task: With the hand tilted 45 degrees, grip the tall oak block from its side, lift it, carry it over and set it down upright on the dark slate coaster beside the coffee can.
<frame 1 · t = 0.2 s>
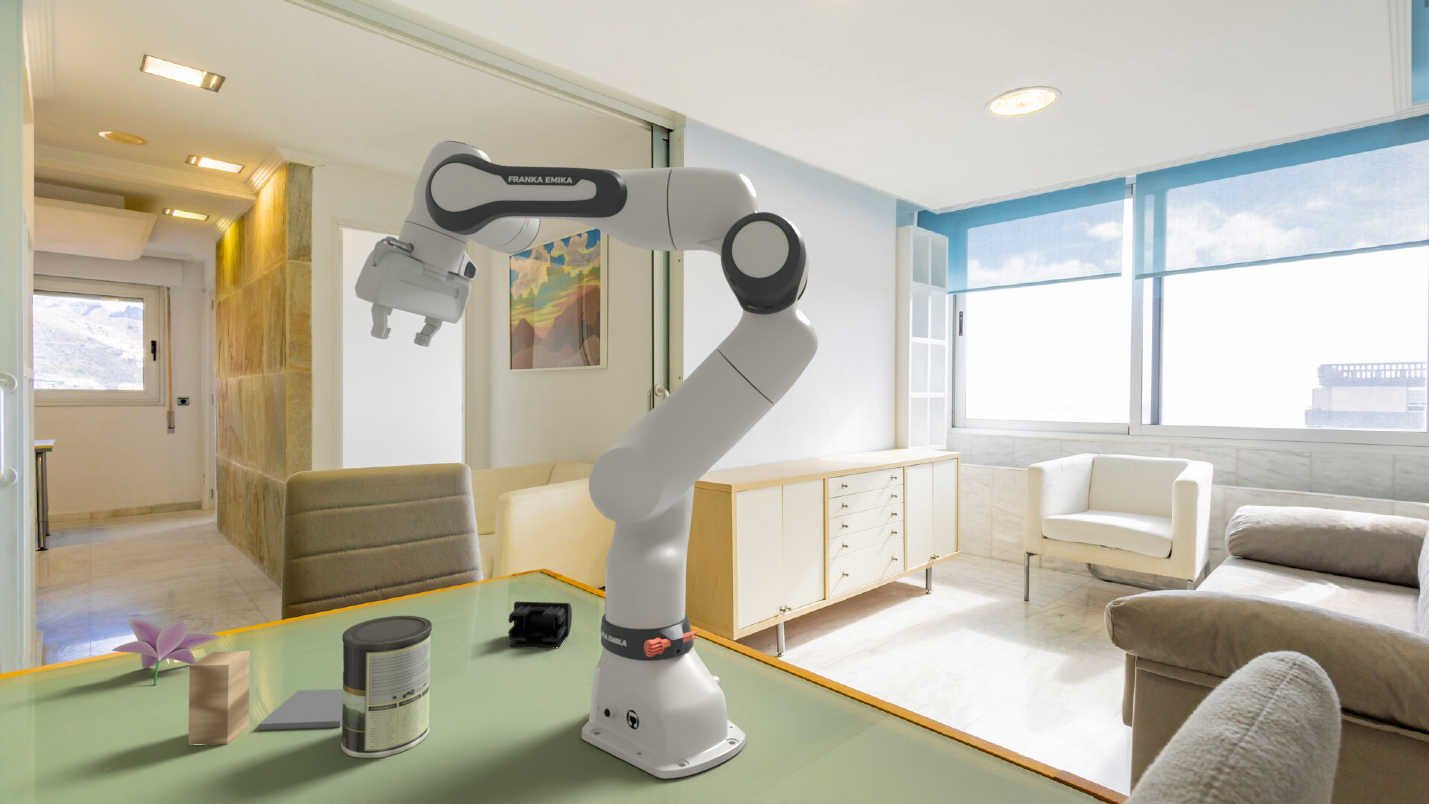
hand: (400, 341, 97), 52 cm above the table, tool tilted 20°, fingers open, 8 cm apart
lily: (164, 676, 102), on the table
oak block: (219, 736, 84), on the table
coffee can: (386, 739, 85), on the table
slate coaster: (318, 710, 91), on the table
end cap: (539, 642, 119), on the table
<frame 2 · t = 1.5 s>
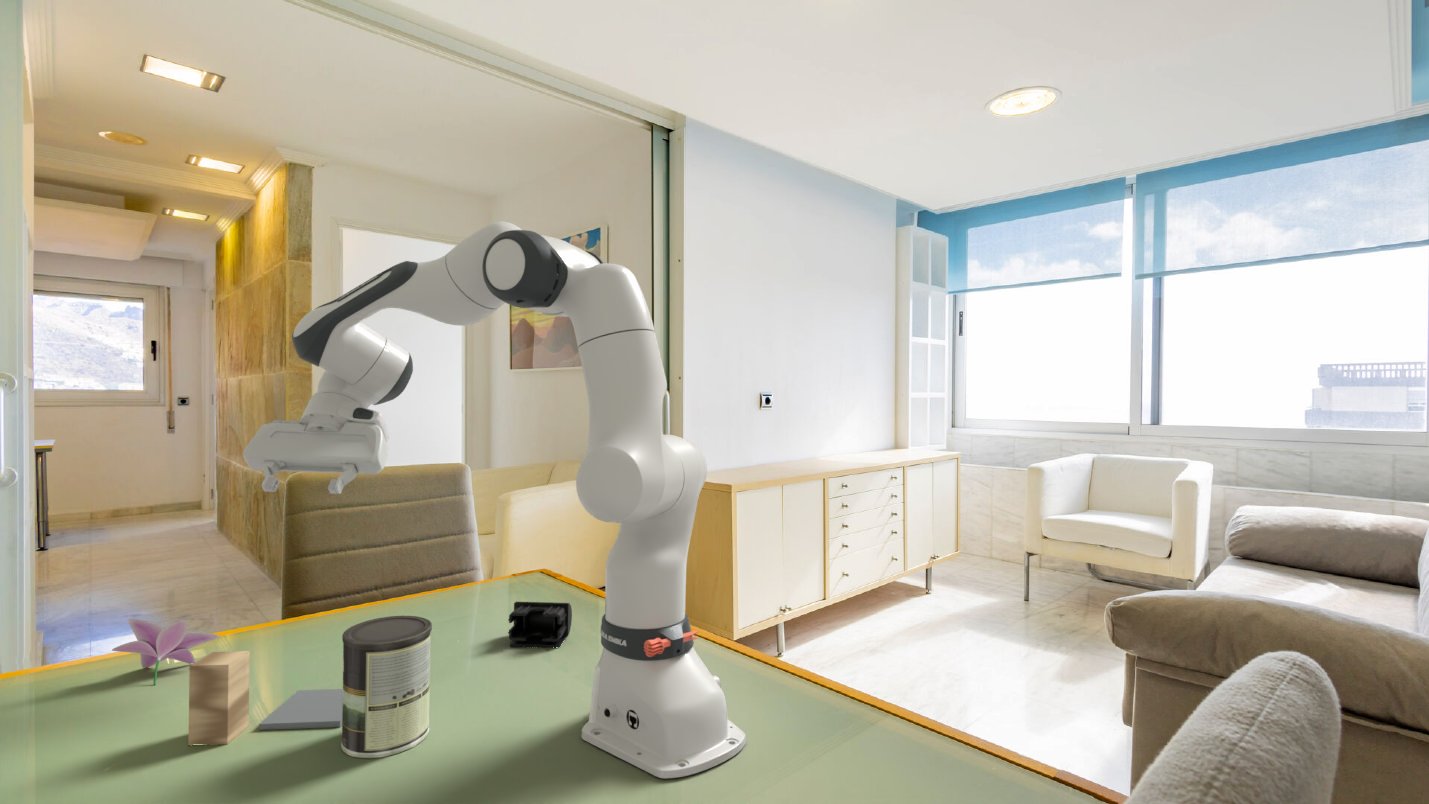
hand: (301, 490, 101), 29 cm above the table, tool tilted 45°, fingers open, 8 cm apart
nothing on the table moved.
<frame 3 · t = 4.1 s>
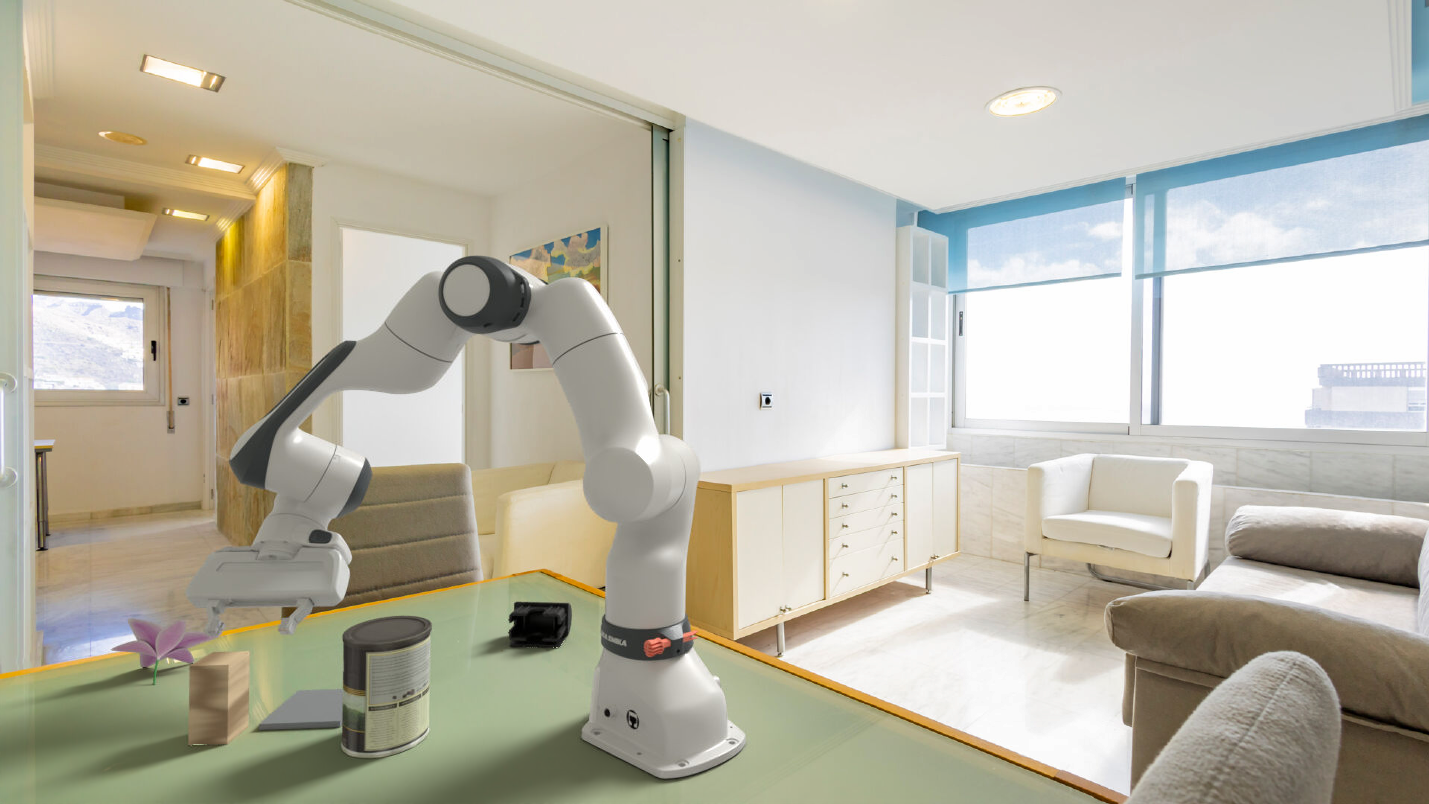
hand: (248, 633, 90), 11 cm above the table, tool tilted 45°, fingers open, 8 cm apart
nothing on the table moved.
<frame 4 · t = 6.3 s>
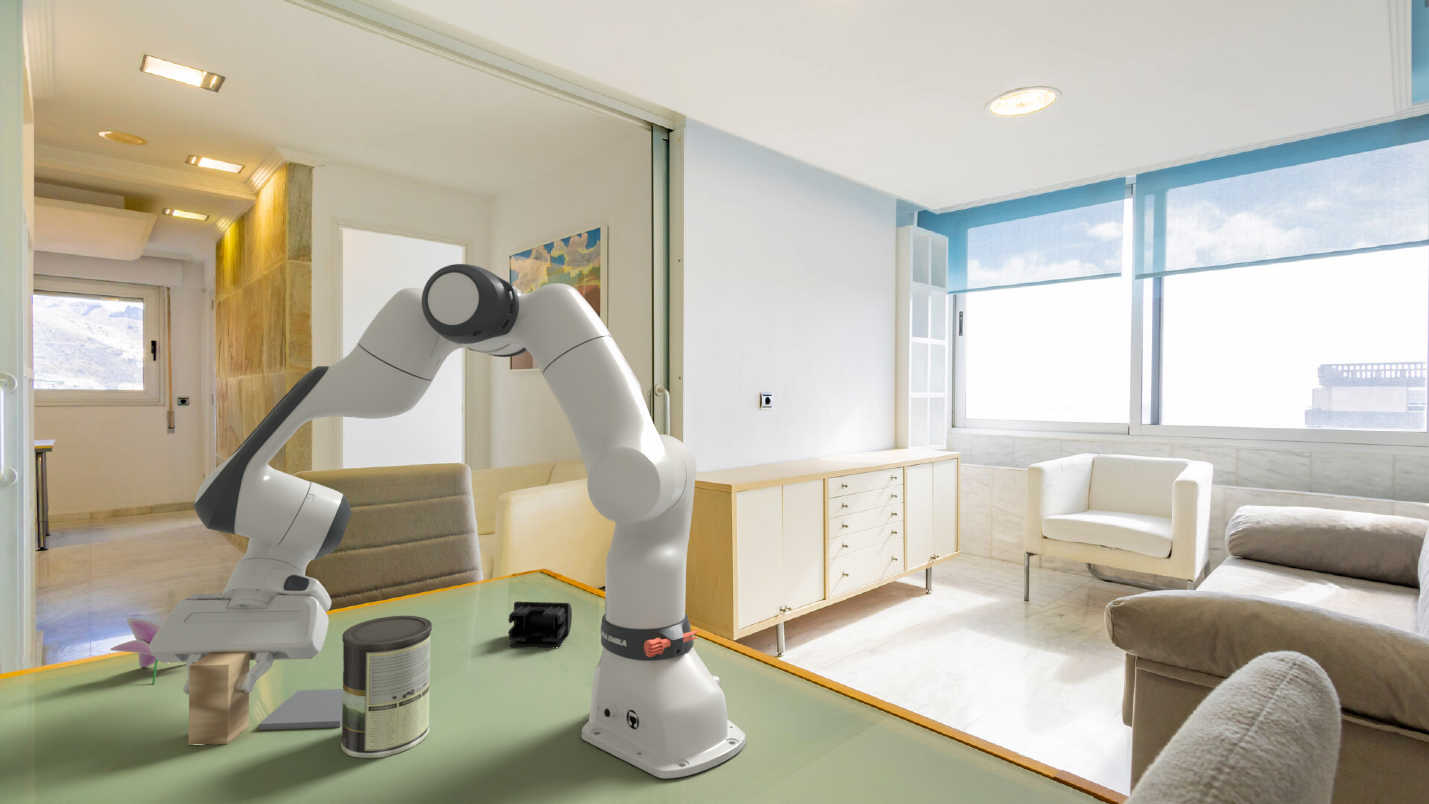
hand: (217, 692, 84), 6 cm above the table, tool tilted 45°, fingers closed on oak block, 4 cm apart
oak block: (219, 736, 84), on the table, touching gripper
everything else where it was.
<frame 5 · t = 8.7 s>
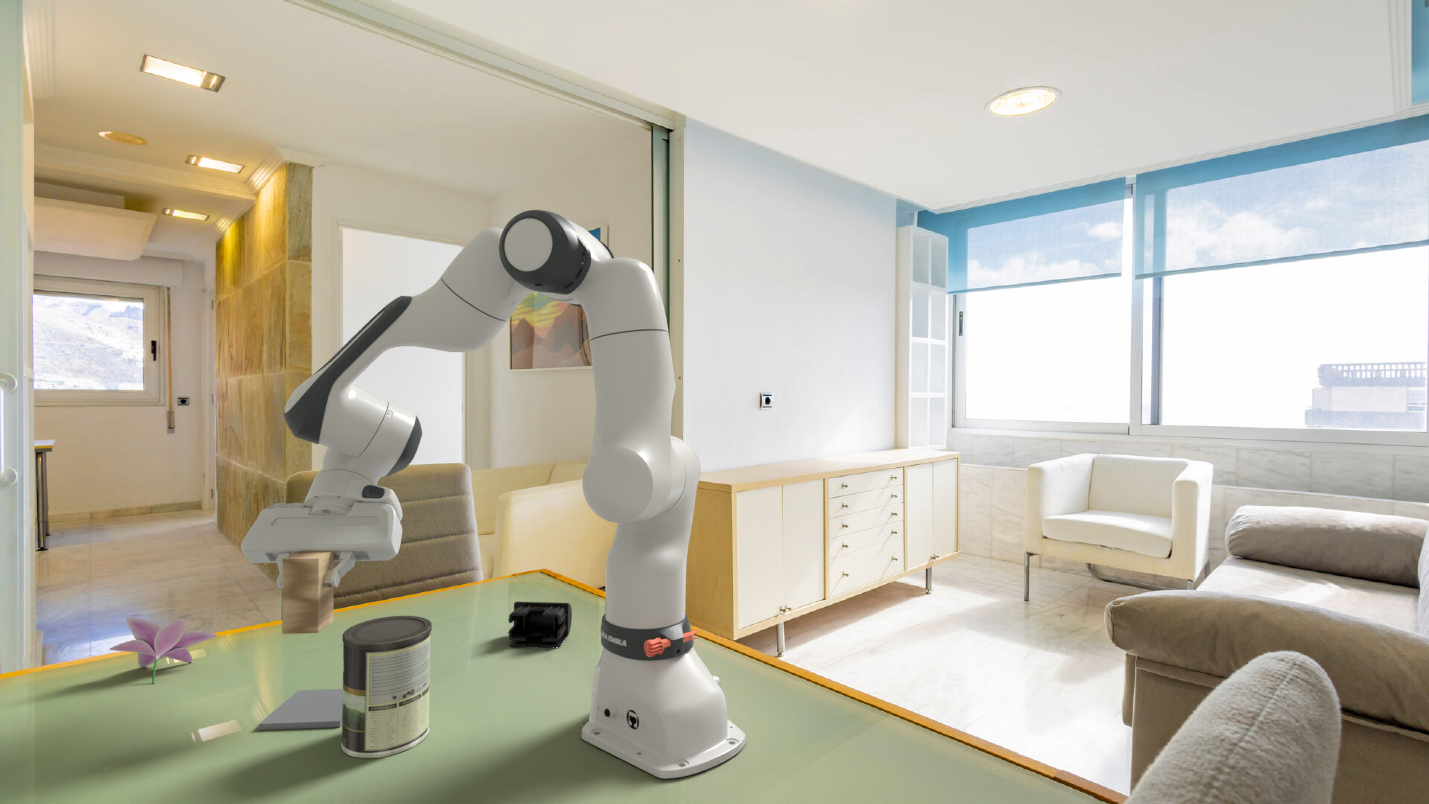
hand: (306, 586, 89), 18 cm above the table, tool tilted 45°, fingers closed on oak block, 4 cm apart
oak block: (308, 627, 90), point 12 cm above the table, touching gripper
everything else where it was.
when the fingers open (8 cm above the table, at t = 11.3 s): oak block drops 1 cm, resting on slate coaster.
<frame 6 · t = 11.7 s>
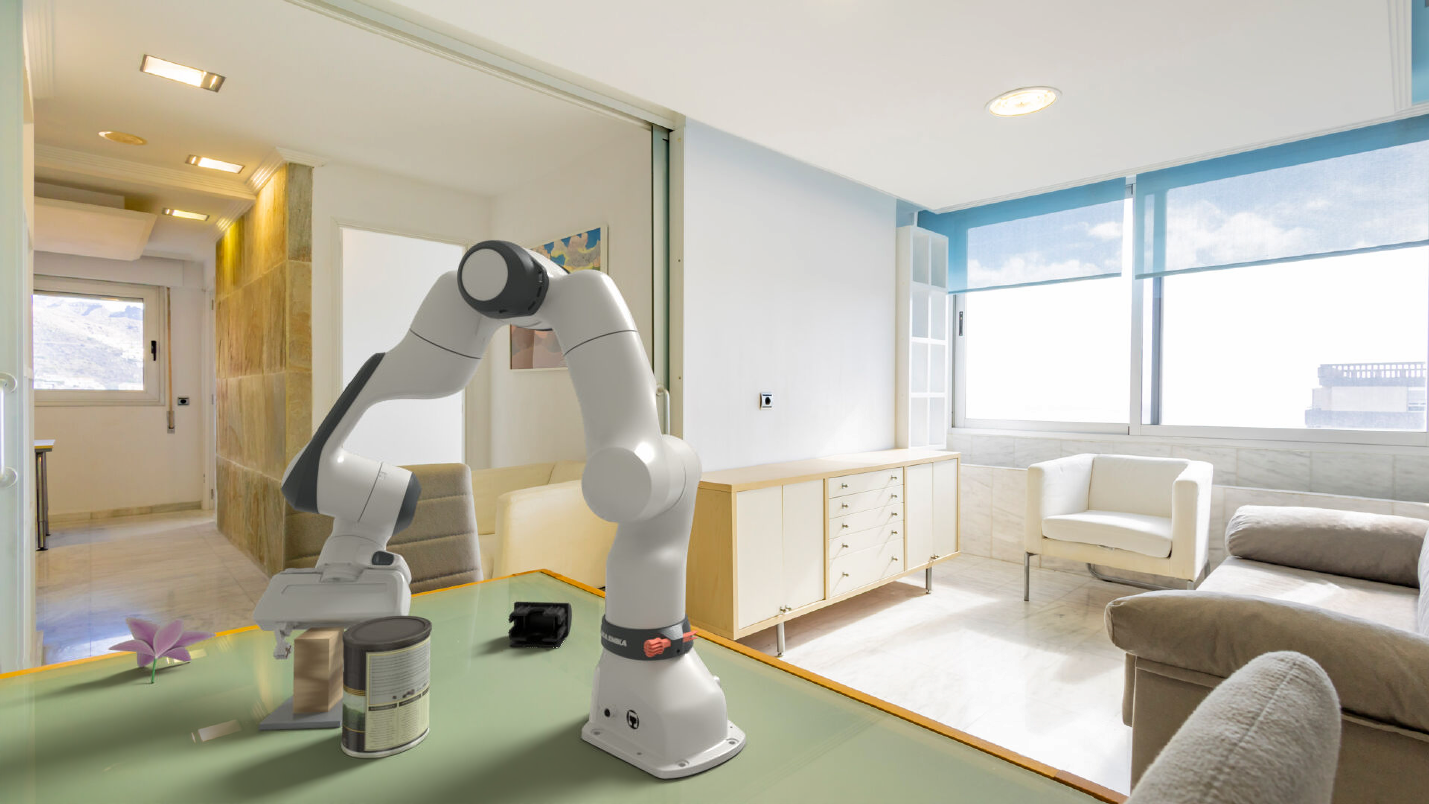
hand: (317, 656, 91), 8 cm above the table, tool tilted 45°, fingers open, 8 cm apart
oak block: (318, 704, 91), point 1 cm above the table, touching slate coaster
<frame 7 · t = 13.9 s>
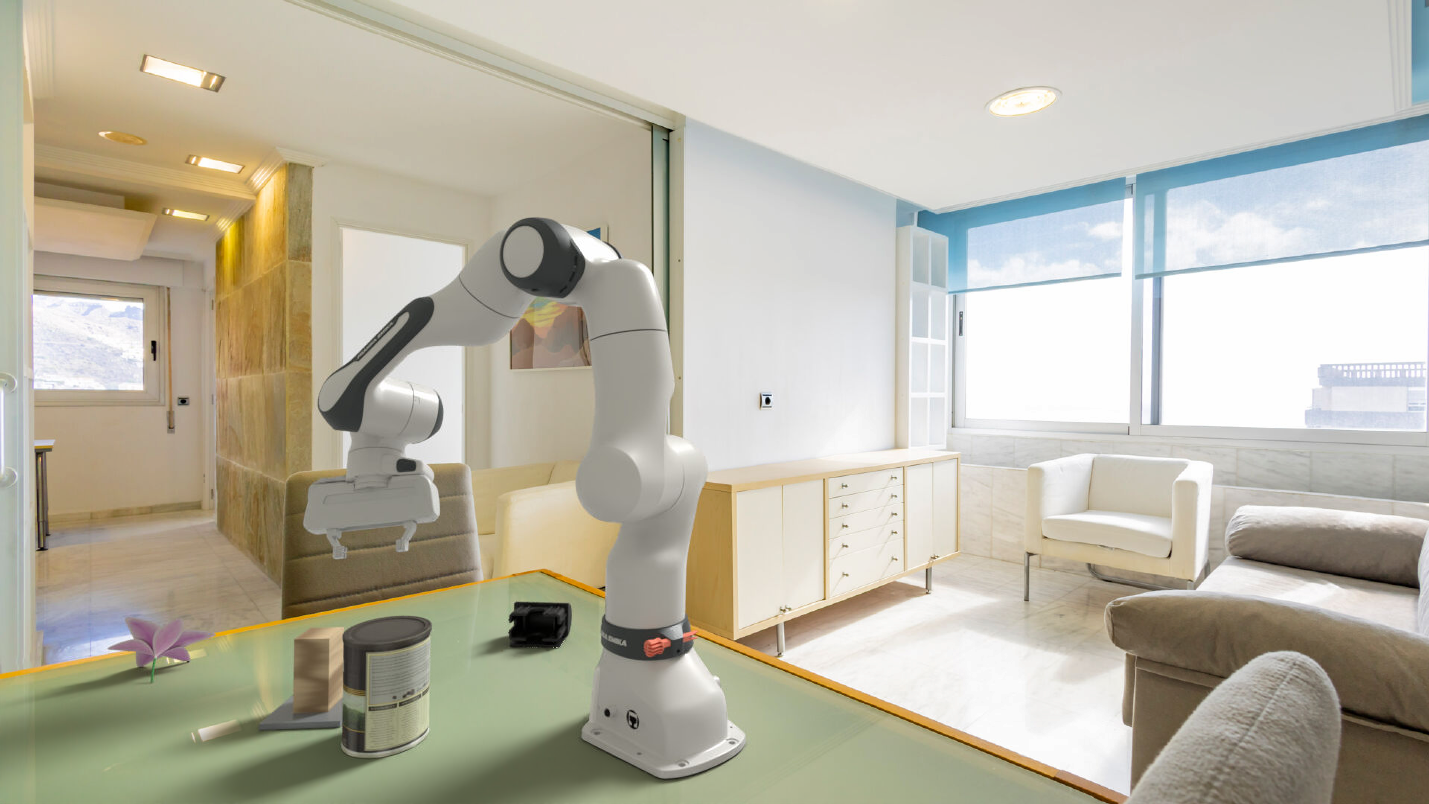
hand: (370, 554, 105), 18 cm above the table, tool tilted 25°, fingers open, 8 cm apart
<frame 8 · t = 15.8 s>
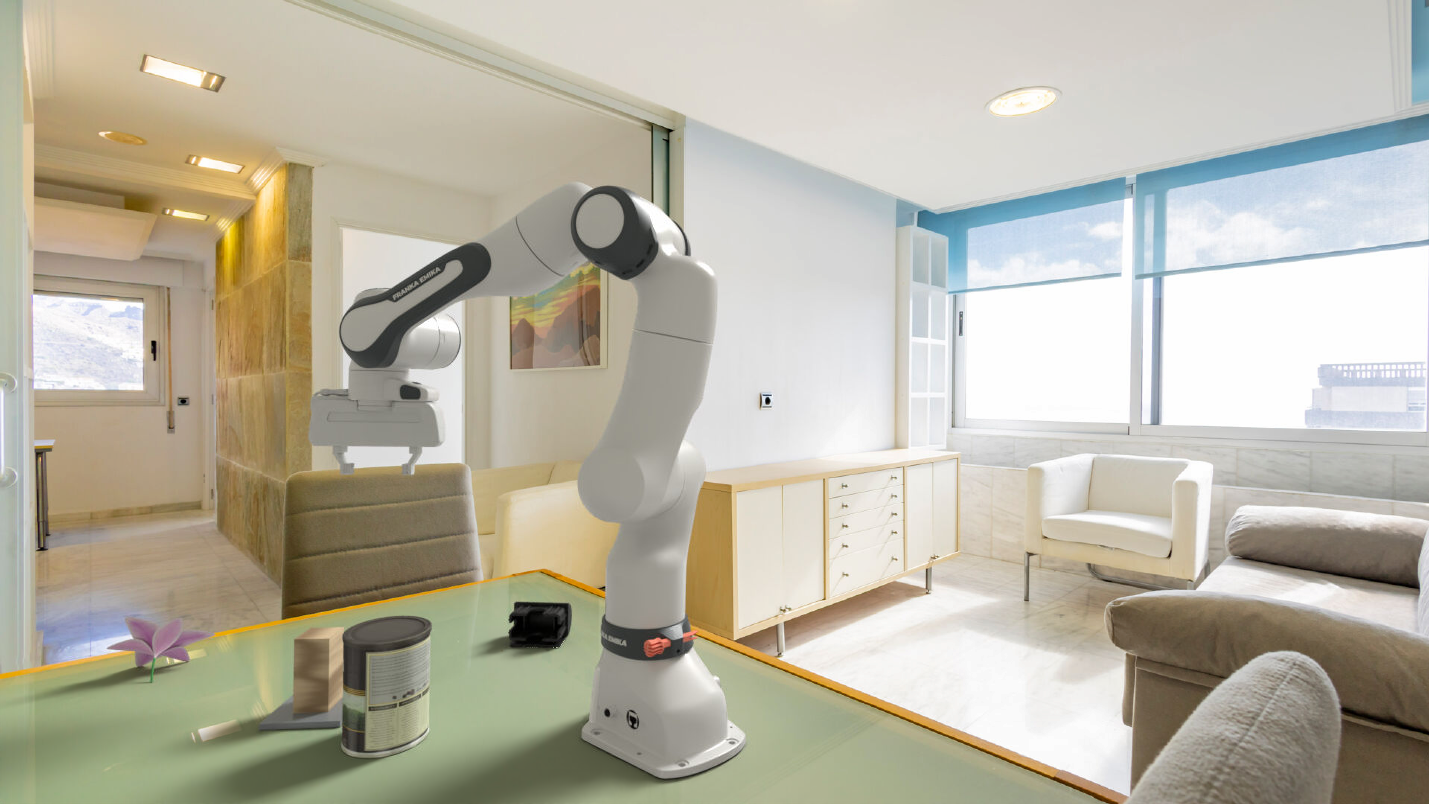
hand: (377, 474, 107), 31 cm above the table, tool pointing down, fingers open, 8 cm apart
at the end: oak block 0.0 cm from the slate coaster (horizontally); oak block tilted 0°; the gripper is holding nothing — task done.
